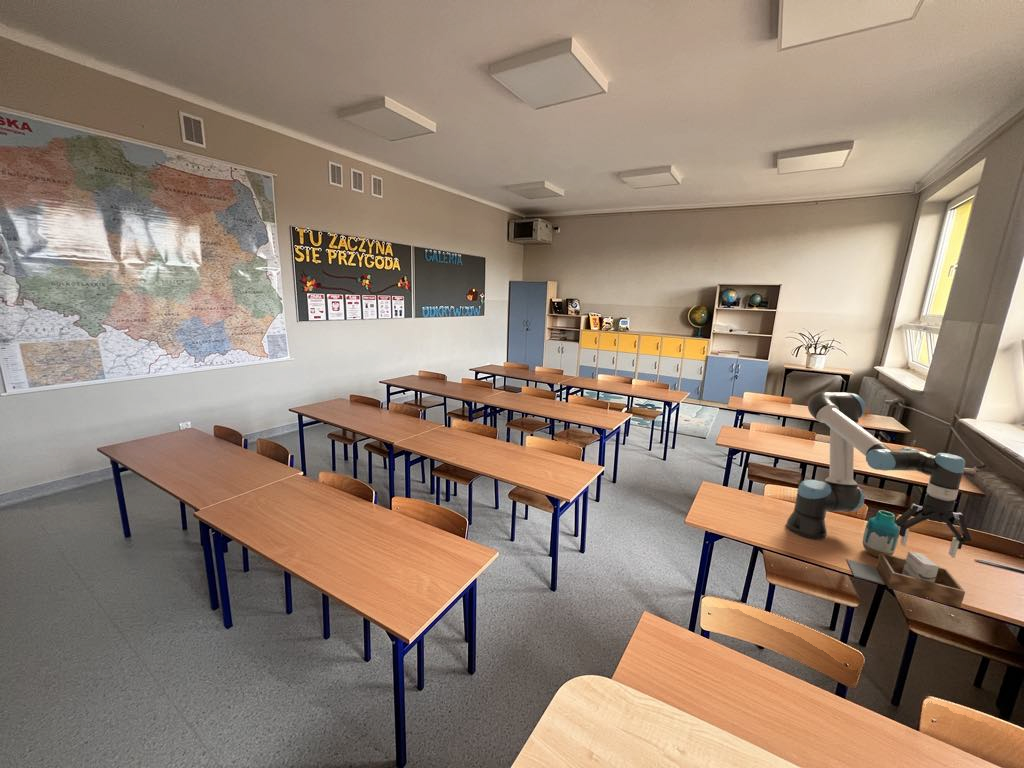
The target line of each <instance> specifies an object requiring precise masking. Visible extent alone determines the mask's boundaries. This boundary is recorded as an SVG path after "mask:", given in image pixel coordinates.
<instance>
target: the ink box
mask: <svg viewBox="0 0 1024 768" xmlns="http://www.w3.org/2000/svg"><path fill="white" fill-rule="evenodd" d="M905 559H906V562H905V565H904V569H903V572H902V575H906V576H910V577H914V578H918V579H922V580H926V581H929V582H933V583H934V582H935V579H936V575H937V572H938V568H939V567H940V566H939V565H937V563H935V562H933V560H931V559H930V558H928V556H926V555H925V554H924V553H921V552H914V551H910V550H909V551H907V555H906V558H905Z"/></svg>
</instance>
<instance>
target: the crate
mask: <svg viewBox="0 0 1024 768" xmlns="http://www.w3.org/2000/svg"><path fill="white" fill-rule="evenodd" d="M905 562H906V558H904V557H899V556H895V555H888V554H884V553H880V555H879V557H878V559H877V565H876V569H877V571H878V573H879V575H880V577H881V578H882V580H883V582H884V584H885V585H886V586H887V588H888V589H889V590H892V591H897V592H900V593H903V594H904V593H905V594H907V595H911V596H915V597H918V598H922V599H926V600H929V601H932V602H933V601H934V602H937V603H940V604H944V605H948V606H952V607H955V608H958V609H961V607H962V604H963V600H964V597H965V594H966V591H965V590H964V588H963V587H962V586H961V585H960V583H959V582H958V581H957V579H955V577H954V576H953V575H952V574H951V573H950V571H949V570H948V569H947V568H945V567H940V566H939V568H938V572H937V575H936V579H935V582H934V583H933V582H929V581H926V580H922V579H918V578H914V577H910V576H906V575H902V572H903V569H904V565H905ZM926 597H928V598H926ZM932 599H933V600H932Z"/></svg>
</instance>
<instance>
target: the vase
mask: <svg viewBox="0 0 1024 768" xmlns="http://www.w3.org/2000/svg"><path fill="white" fill-rule="evenodd" d="M895 519H896V515H895V514H894V513H892V512H890V511H886V510H883V509H881V510H878V511H877V513H876V516H875V517H871V518H869V519H868V521H867V522H866V525H865V528H864V532H863V536H862V546H863V549H865V551H866V552H867V553H868V554H870V555H872V556H874V557H877V558H879V555H880V553H884V554H888V555H892V556H894V554H895V551H896V549H897V547H898V546H897V545H898V542H899V537H900V535H899V531H900V526H897V524H896V523H895V521H896V520H895Z"/></svg>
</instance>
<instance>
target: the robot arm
mask: <svg viewBox="0 0 1024 768" xmlns="http://www.w3.org/2000/svg"><path fill="white" fill-rule="evenodd" d="M866 409H867V408H866V403H865V401H864V399H863V398H862V397H861V396H859V395H858V394H856V393H853V392H846V391H845V392H833V391H831V392H830V391H824V392H823V391H821V392H818V393H815V394H814V395H812V396H811V397H810V398H809V400H808V402H807V410H808V412H809V413H810V415H811V416H812V418H813V419H815V420H816V421H817V422H819V423H822V424H825V425H826V426H828V427H829V428H830V429H829V430H830V431H829V476H828V477H827V478H825V479H824V481H822V480H817V479H816V480H815V479H805V480H803V481H801V482H800V483H799V485H798V488H797V493H796V498H795V504H794V508H793V511H792V513H791V514H790V516H789V517H788V519H787V520H786V527H787V529H789V530H790V531H791V532H792V533H794V534H796V535H798V536H801V537H804V538H807V539H811V540H823V539H826V537H827V532H828V531H827V527H826V520H825V518H826V514H827V512H843V513H848V512H849V513H850V512H855V511H858V510H860V509H861V508H862V507H863V505H864V503H865V495H864V492H863V491H862V488H860V487H859V486H858V482H856V480H855V479H854V457H855V456H854V448H855V449H856V450H857V451H859V452H860V453H861V454H862V455H864V456H865V462H867V465H868V466H869V467H870V468H871V469H873V470H877V471H879V470H880V471H904V472H905V471H908V472H909V471H915V472H919V473H921V474H925V475H927V476H929V482H928V485H927V488H926V494H925V497H924V500H923V504H922V505H917V504H916V503H914V502H912V503H911V504H910V507H909V508H908V509H907V510H905V512H903V513H902V514H901V515H900V516H899V517H898V518H897V519H896V520H894V523H895V524H896V525H897V526H898V527H899V537H901V538H900V540H899V541H900V542H899V543H900V544H901V546H902V547H906V545H907V541H908V537H909V533H910V530H909V529H910V528H911V527H913V526H915V525H917V524H919V523H922V522H923V521H927V520H929V521H931V522H938V523H943V522H944V523H945V525H946V526H947V527H948V528H949V530H950V531H951V532H952V534H953V535H954V536H955V537H952V540H951V542H950V543H951V544H950V547H949V550H948V555H949V556H950V557H951V558H955V559H956V555H957V552H958V550H961V549H962V546H963V543H966V542H972V538H971V535H970V532H969V530H968V527H967V525H966V522H965V515H964V514H963V513H962V512H961V511H957V512H954V508H955V505H956V500H957V497H958V493H959V489H960V484H961V481H962V478H963V475H964V473H965V467H966V460H965V459H964V457H962V456H959V455H955V454H952V453H946V452H938V453H936V454H935V455H934V454H932V453H928V452H926V451H923V450H920V449H918V448H913V447H909V446H904V447H903V448H900V449H892V448H890V447H889V446H887V445H886V444H884V443H883V442H882V441H881V440H879V439H878V438H876V437H875V436H874V435H872V434H871V433H870V432H869V431H868V430H865V429H864V428H863V427H862V426H860V424H859V419H860V418H861V417H863V416H864V415H865V414H866V411H867V410H866ZM919 511H921V512H920V513H918V514H917V515H915V514H916V513H917V512H919ZM914 515H915V516H914ZM913 516H914V517H913ZM953 517H954V519H956V522H957V524H958V527H959V528H960V532H961V533H959V531H958V530H957V529H956V527H955V525H953V524H952V522H951V520H949V519H951V518H953ZM961 534H962V535H961Z"/></svg>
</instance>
